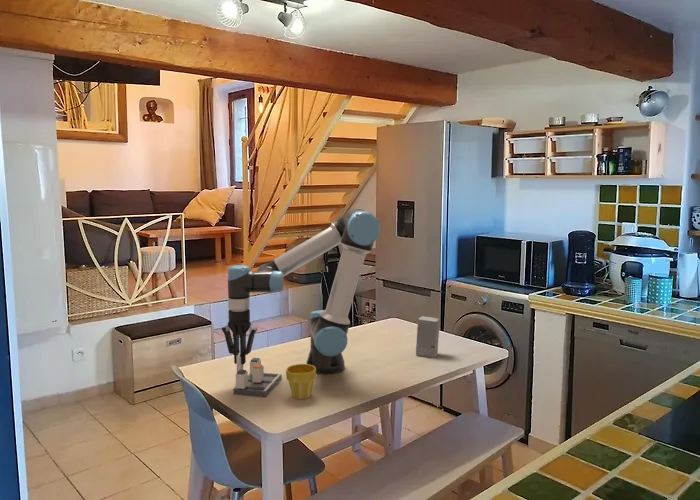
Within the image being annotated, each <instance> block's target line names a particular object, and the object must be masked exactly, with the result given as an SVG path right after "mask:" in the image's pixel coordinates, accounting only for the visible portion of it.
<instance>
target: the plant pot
mask: <svg viewBox="0 0 700 500" xmlns="http://www.w3.org/2000/svg"><path fill="white" fill-rule="evenodd" d="M285 377H286V380H287V381H288V384H289V389H290V392H291V396H292V397H293V399H296V400H305V399H309V398H311V396H312V392H313V389H314V382H315V379H316V378H317V373H316V367H315V366H313V365H309V364H306V363H298V364H292V365H290V366H288V367H286V369H285Z"/></svg>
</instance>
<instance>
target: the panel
mask: <svg viewBox="0 0 700 500" xmlns="http://www.w3.org/2000/svg"><path fill="white" fill-rule="evenodd" d="M282 376H283V375H282V374H281V373H270V372H264V379H263V380H262V382H261V383H258V382H252V375H250V373H249V374H248V386H247V387H246V388H244V389H241V388H236V386H234V388H233V389H232V394H233V396H236V395H237V396H246V397H258V398H267V396H268V395H269V394H271V392H272V391H273V390H274V389H275V387H276V386H277V385H278V384H279V383H280V382H281V381H282V379H283V377H282Z"/></svg>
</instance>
